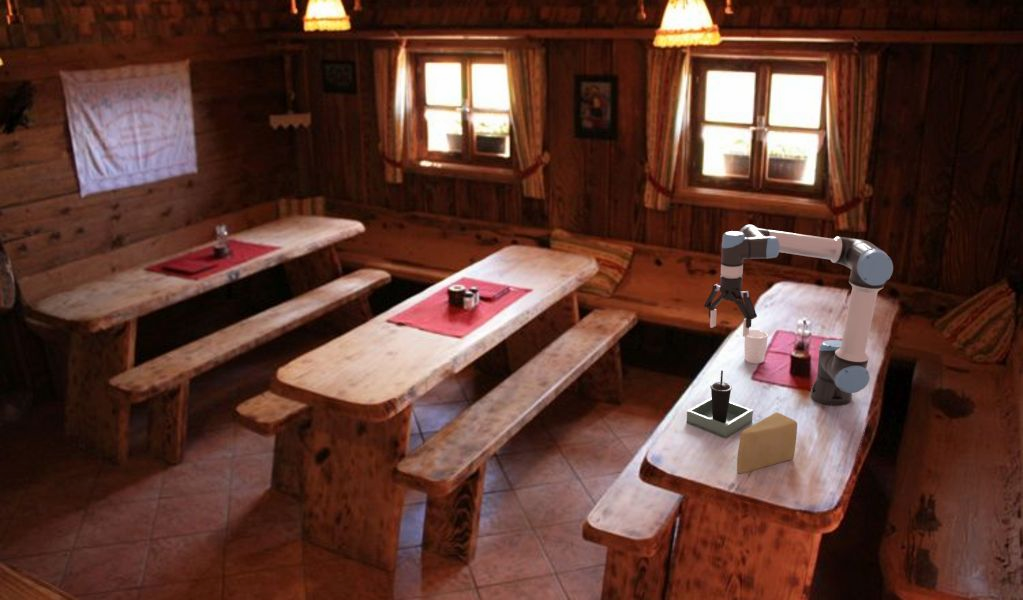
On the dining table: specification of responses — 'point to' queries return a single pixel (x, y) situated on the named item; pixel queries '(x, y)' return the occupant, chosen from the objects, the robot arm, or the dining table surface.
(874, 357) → the dining table surface
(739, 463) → the cheese
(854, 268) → the robot arm
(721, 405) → the drinking cup
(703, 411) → the grey-green shallow box
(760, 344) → the white cup
